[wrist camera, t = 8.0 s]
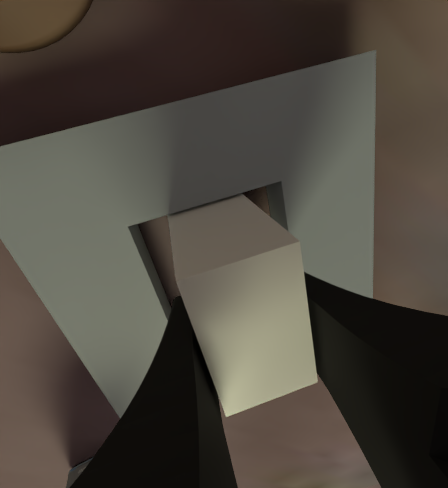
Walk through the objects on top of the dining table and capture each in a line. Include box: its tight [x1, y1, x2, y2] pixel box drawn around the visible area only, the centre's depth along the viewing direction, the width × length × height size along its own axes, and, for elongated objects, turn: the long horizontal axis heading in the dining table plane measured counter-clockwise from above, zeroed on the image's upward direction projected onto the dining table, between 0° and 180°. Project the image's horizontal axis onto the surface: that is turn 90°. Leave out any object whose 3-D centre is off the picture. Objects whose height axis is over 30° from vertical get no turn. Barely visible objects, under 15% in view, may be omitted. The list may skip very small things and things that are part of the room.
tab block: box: [167, 193, 318, 417], centre depth 10 cm, size 3×5×6 cm, turn 13°
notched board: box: [0, 50, 376, 419], centre depth 13 cm, size 14×14×2 cm
